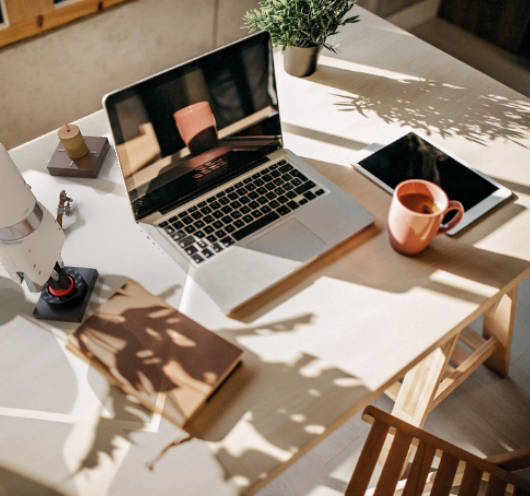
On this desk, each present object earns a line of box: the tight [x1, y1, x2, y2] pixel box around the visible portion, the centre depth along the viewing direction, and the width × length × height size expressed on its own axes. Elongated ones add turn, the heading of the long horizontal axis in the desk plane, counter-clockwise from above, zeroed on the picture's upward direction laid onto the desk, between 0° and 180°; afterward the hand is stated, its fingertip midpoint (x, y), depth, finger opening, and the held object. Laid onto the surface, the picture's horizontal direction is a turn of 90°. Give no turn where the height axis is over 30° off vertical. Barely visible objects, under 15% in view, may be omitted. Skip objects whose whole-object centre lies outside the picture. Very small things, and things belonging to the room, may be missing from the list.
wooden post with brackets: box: [55, 189, 74, 232], centre depth 96 cm, size 2×8×4 cm, turn 174°
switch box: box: [32, 265, 100, 324], centre depth 85 cm, size 8×10×4 cm
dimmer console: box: [46, 135, 111, 179], centre depth 105 cm, size 10×10×3 cm
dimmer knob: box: [56, 123, 88, 159], centre depth 102 cm, size 4×4×6 cm
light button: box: [49, 276, 75, 297], centre depth 84 cm, size 4×4×2 cm
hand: (61, 284), depth 84 cm, fingers closed
